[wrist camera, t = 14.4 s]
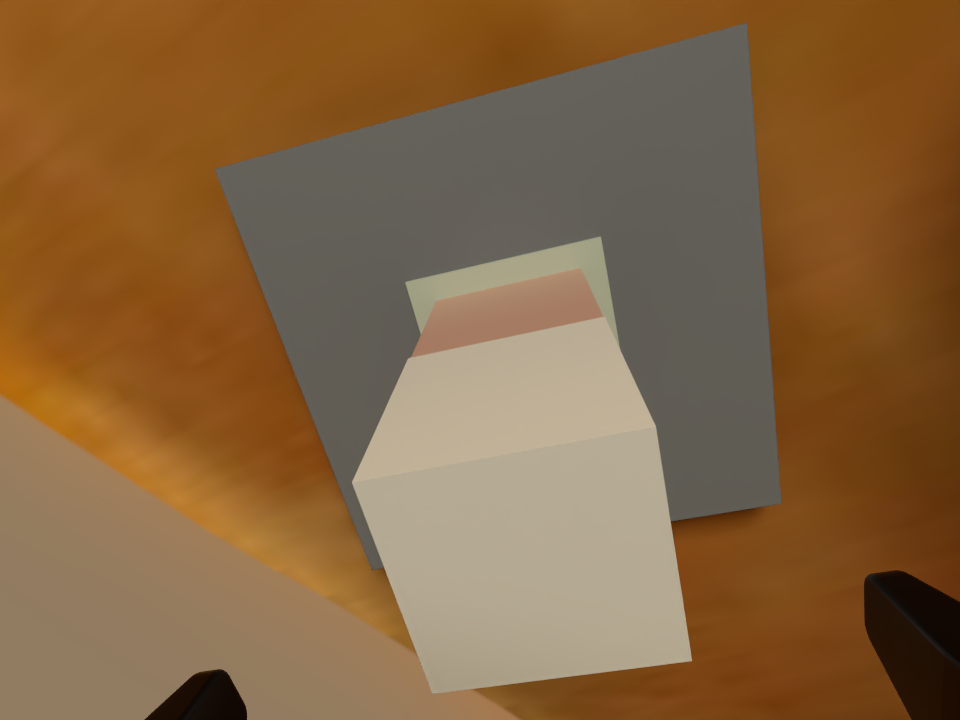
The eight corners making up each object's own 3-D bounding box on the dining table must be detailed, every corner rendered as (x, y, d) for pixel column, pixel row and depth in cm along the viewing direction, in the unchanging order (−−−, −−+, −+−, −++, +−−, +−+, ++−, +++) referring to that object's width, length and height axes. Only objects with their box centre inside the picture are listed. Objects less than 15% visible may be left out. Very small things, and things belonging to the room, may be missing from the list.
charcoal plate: (727, 31, 16) (748, 22, 15) (764, 479, 22) (782, 505, 20) (237, 165, 18) (213, 169, 17) (380, 543, 24) (371, 571, 22)
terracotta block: (581, 267, 17) (604, 320, 13) (605, 400, 19) (635, 490, 14) (435, 300, 18) (409, 361, 13) (471, 426, 20) (458, 520, 15)
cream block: (604, 316, 13) (655, 426, 8) (634, 487, 14) (691, 661, 10) (408, 358, 13) (352, 482, 9) (457, 517, 15) (432, 693, 10)
